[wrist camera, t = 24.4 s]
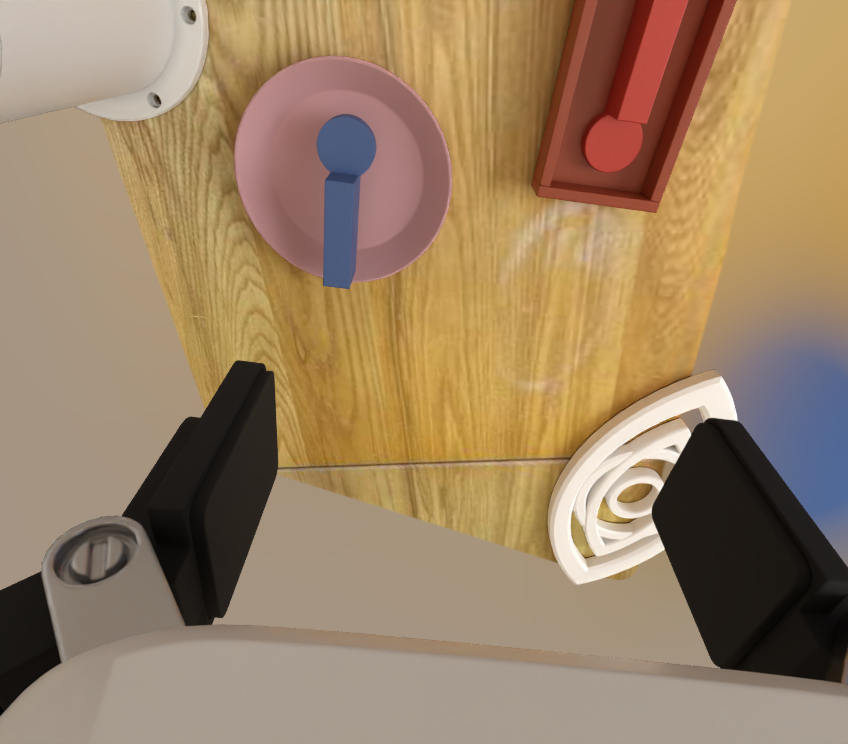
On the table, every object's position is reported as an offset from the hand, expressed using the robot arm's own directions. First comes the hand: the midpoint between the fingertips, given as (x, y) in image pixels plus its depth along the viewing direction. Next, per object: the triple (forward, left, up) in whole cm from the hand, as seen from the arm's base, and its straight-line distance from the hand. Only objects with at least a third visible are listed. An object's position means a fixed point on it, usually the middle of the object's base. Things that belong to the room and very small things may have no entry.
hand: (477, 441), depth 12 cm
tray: (+10, +6, -28) cm, 30 cm away
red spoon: (+10, +6, -28) cm, 30 cm away
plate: (-7, -2, -28) cm, 29 cm away
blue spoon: (-7, -3, -26) cm, 27 cm away
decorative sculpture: (+24, -13, -26) cm, 38 cm away
